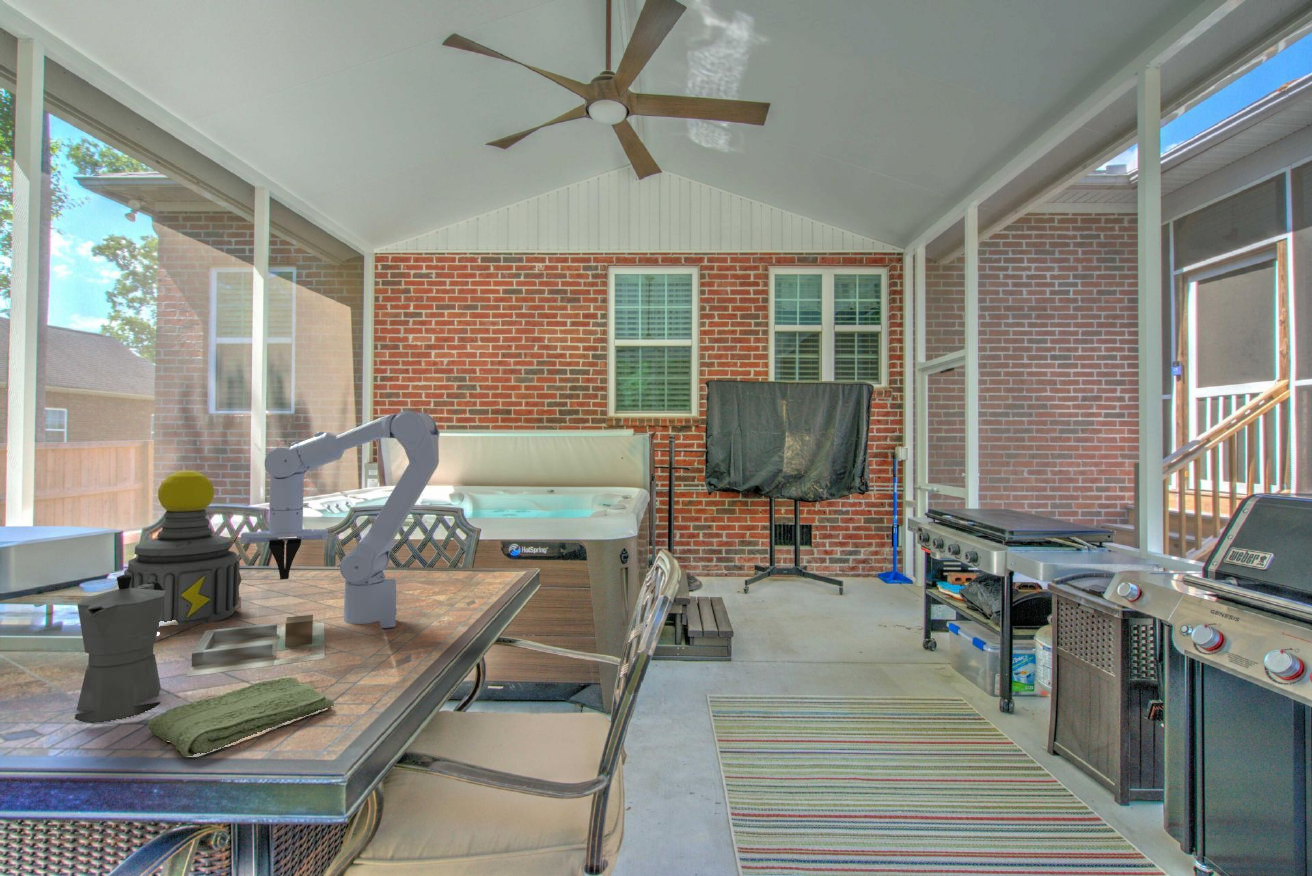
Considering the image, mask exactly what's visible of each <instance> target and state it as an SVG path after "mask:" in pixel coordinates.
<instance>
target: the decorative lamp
mask: <svg viewBox="0 0 1312 876" xmlns="http://www.w3.org/2000/svg"><path fill="white" fill-rule="evenodd" d="M157 494H158V495H157V499H158V501H159V503H160V505H161V507H162V508H164V510H166V511H165V514H164V516H163V517H164V518H165V519H164V520H161V521H162V522H161V525H160V528H161V529H160V530H159V531H158V533H157V535H156V537H155V538H150V539H147V540H145V541H142V542H140V543H138V544H135V546H134V554H135V555H137V556H136V557H133V558H131V559H130V560H128V562H127V568H126V569H124V572H123V575H130V576H132V578H131V582H130V586H129V588H137V587H138V586H140V585H145V584H148V583H150V582H152V581H156V582H158V583H159V584H160V585H161V587H162V588H163V590H164V591H166V592H165V597H164V602H163V607H162V612H161V617H160V621H164V622H167V621H172V620H176V621H177V622H178V625H177V626H176V627H178V626H187V625H188V626H189V625H198V624H207V623H214V622H216V623H217V622H221V621H224V620H226V619H228V618H230V617H231V616H233V614H234V613H235V612H236V607H237V606H238V605H239V602H240V585H241V582H242V576H241V573H240V567H241V566H240V561H239V559H238V555H237V553H236V552H235V551H233V550H230V548H232V546H233V542H232V541H233V540H232V539H230V538H228V537H226V536H223V535H220V534H219V535H217V534H213V530H212V528H210V527H209V526H210V525H211V523H210V521H209V519H208V518H207V515H208V514H207V510H206V509H207V508H208V506H209V505H211V503H212V501H213V499H214V496H215V488H214V486H213V483H212V481H211V480H210V479H209V478H208V477H207V476H206V475H205V474H202V473H201V472H198V471H195V470H194V471H193V470H181V471H176V472H174V473H171V474H170V475H168V476H167V477H166V478H165V479H164V480H162V482H161V484H160V485H159V486H158V490H157Z"/></svg>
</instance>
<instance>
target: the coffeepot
mask: <svg viewBox="0 0 1312 876" xmlns="http://www.w3.org/2000/svg"><path fill="white" fill-rule="evenodd" d="M131 578H132V576H130V575H124V574H122V575H119V576H117V577H116V581H117V583H116V584H117V586H118V588H116V589H112V590H109V591H105V592H102V593H98V594H94V595H91V596H87V597H83V598H81V600H80V601H79V602H78V603H77V605H76V606H77V611H78V617H79V618H78V619H79V621H80V622H79V623H80V629H81V635H82V641H83V647H84V653H85V654H88V662H87V666H86V669H85V672H84V678H83V681H82V686H81V689H80V694H79V698H78V702H77V706H76V709H77V710H80V711H81V710H82V711H87V712H80V713H76V714H75V716H74V720H77V721H79V722H81V721H82V722H81V723H88V724H96V723H95V722H101V723H105V722H104V721H109V722H112V721H111V720H116V719H121V720H123V719H122V718H125V719H127V718H126V717H129V718H132V717H131V716H133V717H135V716H134V715H136V716H138V715H141V713H142V714H144V713H146V712H145V711H147V712H149V711H151V710H153V709H154V708H156V707H157V706H159V705H160V704H161V701H157V702H149V703H143V702H146V701H148V700H150V699H153V698H155V697H157V696H159V695H160V692H161V687H162V686H161V681H160V675H159V671H158V670H159V669H158V665H157V660H156V655H155V653H154V648H155V647H154V645H155V643H156V639H157V632H159V628H160V627H159V622H160V617H161V612H162V607H163V602H164V597H165V592H166V591H164V590H163V588H162V587H161V585H160V584H159V583H158V582H156V581H152V582H150V583H148V584H145V585H140V586H138V587H137V588H129V586H130V582H131ZM141 703H143V704H141ZM152 708H153V709H152ZM148 710H149V711H148ZM116 721H117V720H116Z"/></svg>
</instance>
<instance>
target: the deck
mask: <svg viewBox="0 0 1312 876" xmlns="http://www.w3.org/2000/svg"><path fill="white" fill-rule="evenodd" d="M285 631H286V626H278V623H277V622H276V623H265V624H257V625H256V624H255V625H248V626H239V627H237V626H236V627H235V626H234V627H227V628H217V629H208V630H207V629H206V630H205V631H204V632H203V634H202V635H201V637H200V640H199V641H198V643H197V644H196V646H195V648H194V649H193V651H192V653H191V667H190V668H189V670H188V672H187V674H186V675H185V678H189V677H197V676H205V675H212V674H219V673H227V672H235V671H243V670H251V669H257V668H258V669H259V668H265V667H267V668H268V667H273V666H281V665H288V664H289V665H290V664H295V663H297V664H298V663H303V662H311V661H318V660H319V661H320V660H325V659H326V658H325V657H326V656H325V622H317V623H315V622H314V623H313V632H312V644H306V645H298V646H289V647H285ZM301 648H302V649H304V648H310V655H305V656H298V657H289V658H281V659H276V655H277V652H280V651H287V650H295V649H301Z"/></svg>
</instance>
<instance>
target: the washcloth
mask: <svg viewBox="0 0 1312 876" xmlns="http://www.w3.org/2000/svg"><path fill="white" fill-rule="evenodd" d="M334 705H335V703H334V701H333V700H332V699H331V698H328V697H327V696H326V695H325V694H323V693H320V692H319V691H317V690H315V689H314V687H313V685H311V684H309V683H301V681H299V680H298V679H297V677H291V676H288V677H280V678H278V679H270V680H264V681H261V682H257V683H254V684H250V685H248V686H244V687H243V688H239V689H234V690H232V691H228V692H225V693H224V694H221V695H218V696H213V697H208V698H203V699H202V700H194V701H193V702H190V703H187V704H183V705H179V706H178V705H177V706H174V707H172V708H170V709H169V708H168V709H167V710H166V711H165V712H162V713H159V714H158V715H156V716H154V717H153V718H152V719H151V720H150V721H148V724H147V726H148V727H147V729H148V731H149V733H150V734H153V735H154V736H156V737H158V736H159V738H160V739H162V741H163V742H165V741H170V742H169V743H171V744H172V745H173V746H175V751H177V750H179V751H178V752H180V754H181V755H183V756H184V755H185V756H193V755H194V754H197V753H200V754H201V753H207V752H210V751H212V750H213V749H218V748H220V747H221V748H222V747H224V746H225V745H228V744H231V743H233V742H236V741H238V740H240V739H242V738H245V737H248V736H251V735H253V734H257V732H262V731H263V730H266V729H268V728H272V727H275V726H277V725H279V724H282V723H285V722H287V721H291V720H293V719H297V718H299V717H304V716H306V715H309V714H311V713H314V712H316V711H318V710H322V709H325V708H330V707H331V706H333V707H334ZM330 709H331V708H330Z"/></svg>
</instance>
